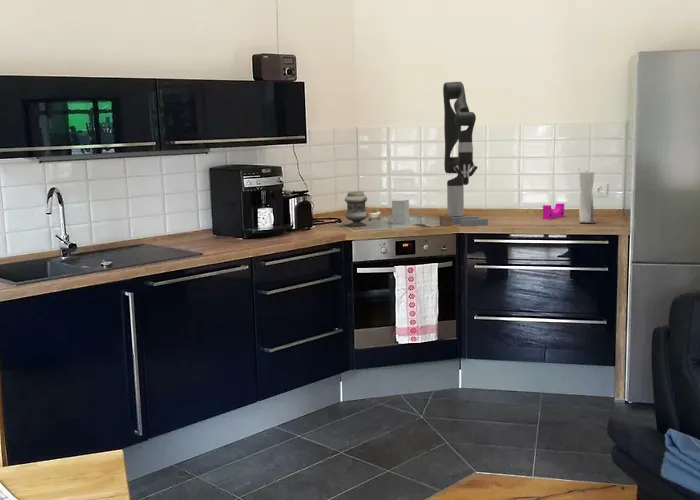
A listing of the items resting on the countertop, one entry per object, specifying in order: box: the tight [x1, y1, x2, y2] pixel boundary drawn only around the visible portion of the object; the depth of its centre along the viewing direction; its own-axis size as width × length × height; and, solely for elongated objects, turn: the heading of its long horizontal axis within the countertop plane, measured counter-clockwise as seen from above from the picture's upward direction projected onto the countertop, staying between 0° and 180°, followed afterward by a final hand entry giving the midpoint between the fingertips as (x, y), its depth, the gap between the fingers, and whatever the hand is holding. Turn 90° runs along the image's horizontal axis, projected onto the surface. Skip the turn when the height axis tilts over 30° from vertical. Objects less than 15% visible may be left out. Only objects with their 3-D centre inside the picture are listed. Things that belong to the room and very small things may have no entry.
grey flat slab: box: [452, 215, 489, 227], centre depth 416 cm, size 16×14×3 cm
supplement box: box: [391, 198, 410, 225], centre depth 427 cm, size 7×7×13 cm
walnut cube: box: [439, 214, 453, 227], centre depth 413 cm, size 5×5×5 cm
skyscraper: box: [578, 167, 596, 224], centre depth 411 cm, size 8×8×28 cm
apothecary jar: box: [344, 190, 369, 228], centre depth 419 cm, size 12×12×18 cm
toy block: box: [542, 202, 565, 220], centre depth 437 cm, size 15×6×8 cm, turn 133°
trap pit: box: [410, 223, 436, 229], centre depth 411 cm, size 18×7×1 cm, turn 12°
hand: (465, 184), depth 416 cm, fingers closed
